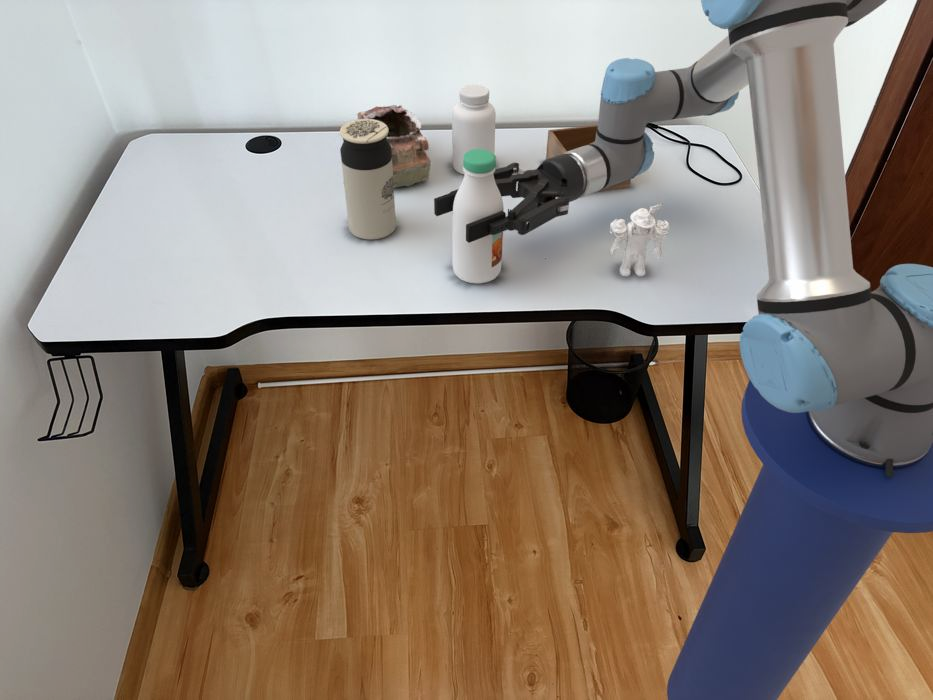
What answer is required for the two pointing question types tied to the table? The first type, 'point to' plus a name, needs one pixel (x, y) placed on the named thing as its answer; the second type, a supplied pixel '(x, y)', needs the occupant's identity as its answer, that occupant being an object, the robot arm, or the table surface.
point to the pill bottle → (472, 124)
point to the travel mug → (368, 178)
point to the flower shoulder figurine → (638, 238)
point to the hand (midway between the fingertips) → (451, 220)
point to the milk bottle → (471, 205)
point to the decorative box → (403, 143)
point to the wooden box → (574, 144)
